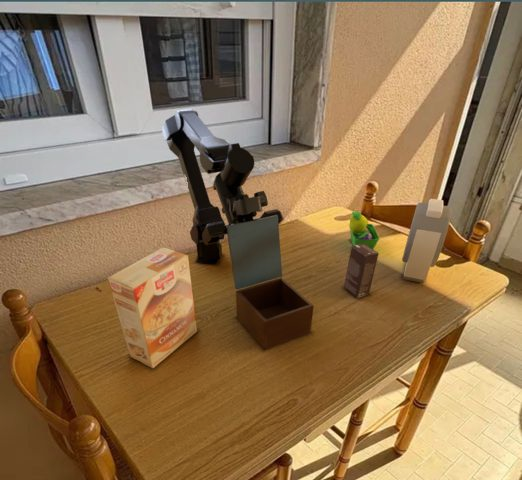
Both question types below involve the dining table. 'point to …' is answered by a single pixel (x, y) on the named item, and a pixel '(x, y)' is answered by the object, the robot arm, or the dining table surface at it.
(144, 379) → the dining table surface
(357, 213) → the fruit basket
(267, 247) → the lid
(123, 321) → the coffeecake box
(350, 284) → the box
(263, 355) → the dining table surface
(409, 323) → the dining table surface
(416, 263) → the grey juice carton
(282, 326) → the chest
